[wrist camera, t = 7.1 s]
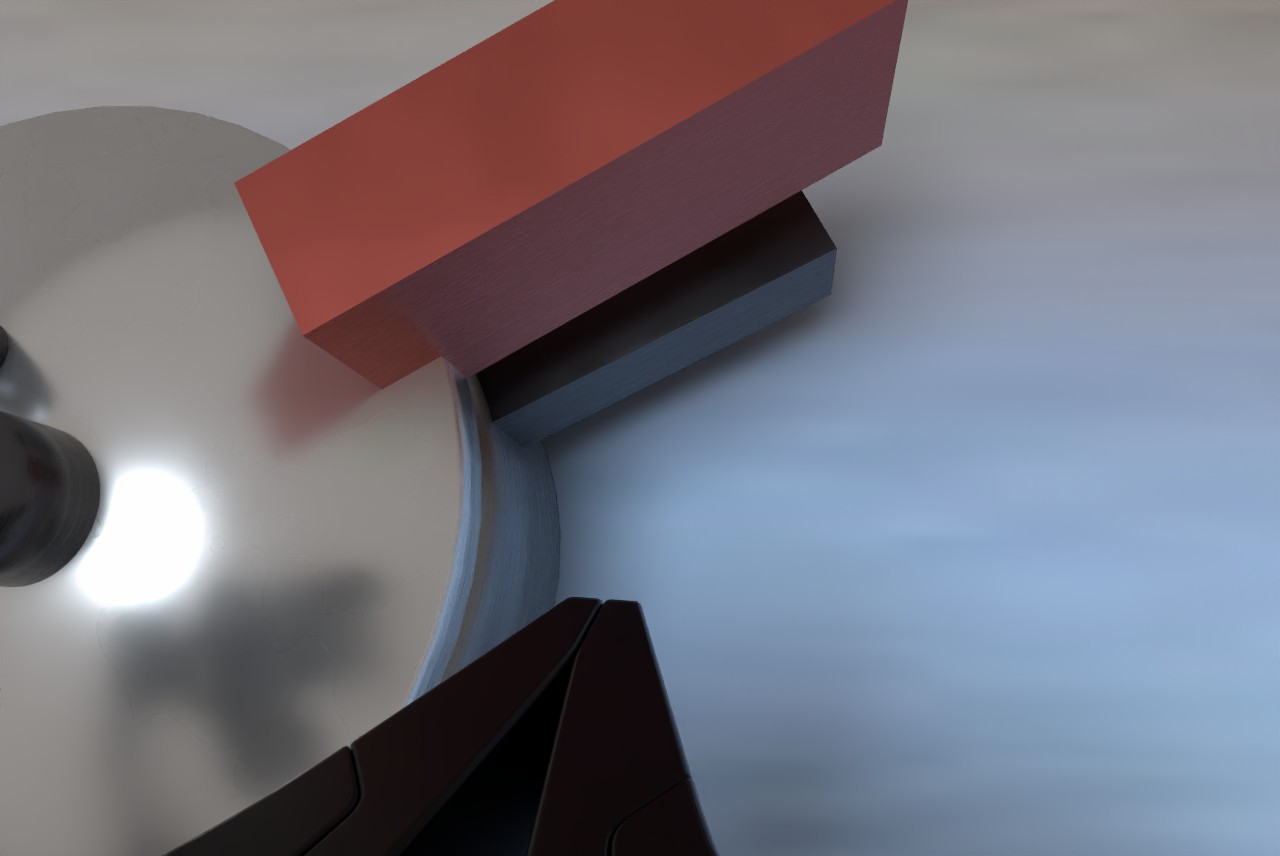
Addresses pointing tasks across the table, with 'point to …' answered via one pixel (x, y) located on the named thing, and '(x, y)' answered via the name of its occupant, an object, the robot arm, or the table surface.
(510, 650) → the robot arm
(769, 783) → the table surface
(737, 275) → the dark grey curved piece
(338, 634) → the lid
